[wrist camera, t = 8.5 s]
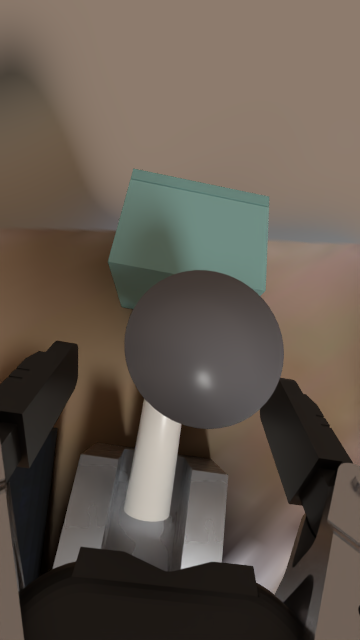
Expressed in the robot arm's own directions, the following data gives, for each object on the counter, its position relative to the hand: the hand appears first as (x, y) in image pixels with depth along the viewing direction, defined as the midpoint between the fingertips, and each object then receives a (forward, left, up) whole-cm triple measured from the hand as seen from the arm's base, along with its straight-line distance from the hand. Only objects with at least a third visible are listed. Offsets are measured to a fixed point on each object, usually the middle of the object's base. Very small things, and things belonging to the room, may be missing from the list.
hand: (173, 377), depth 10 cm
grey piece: (0, +2, -8) cm, 8 cm away
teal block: (0, +9, -9) cm, 13 cm away
